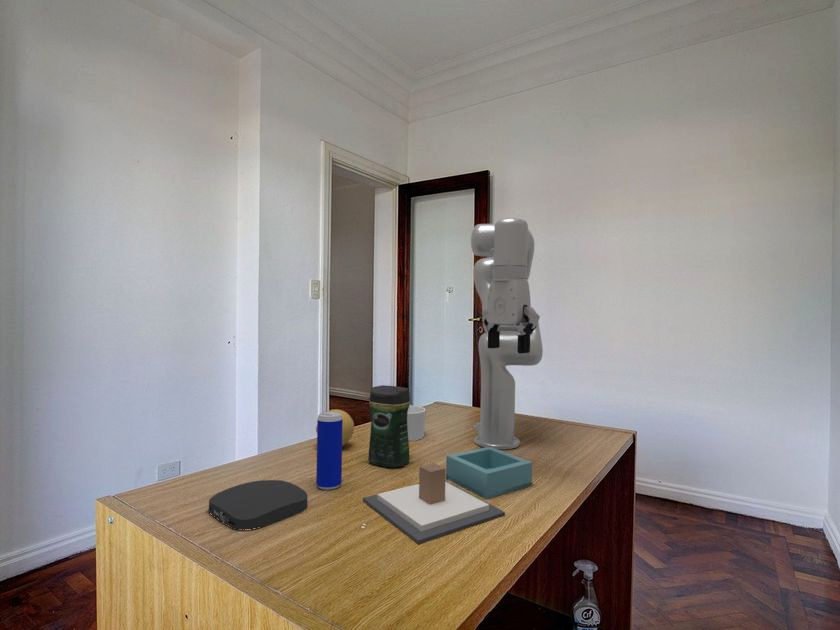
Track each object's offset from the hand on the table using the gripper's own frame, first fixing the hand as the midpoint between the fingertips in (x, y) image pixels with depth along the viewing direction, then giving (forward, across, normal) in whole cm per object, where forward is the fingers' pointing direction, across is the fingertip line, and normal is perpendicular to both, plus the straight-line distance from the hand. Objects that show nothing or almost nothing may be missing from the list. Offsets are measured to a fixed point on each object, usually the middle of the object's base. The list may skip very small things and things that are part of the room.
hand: (508, 350), depth 102 cm
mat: (+27, +7, -25) cm, 38 cm away
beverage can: (+28, -12, -38) cm, 49 cm away
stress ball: (+29, -37, -27) cm, 54 cm away
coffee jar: (+29, -19, -20) cm, 40 cm away
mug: (+30, -38, -4) cm, 48 cm away
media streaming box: (+28, -9, -53) cm, 60 cm away
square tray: (+28, +2, -7) cm, 29 cm away
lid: (+27, +7, -25) cm, 37 cm away
